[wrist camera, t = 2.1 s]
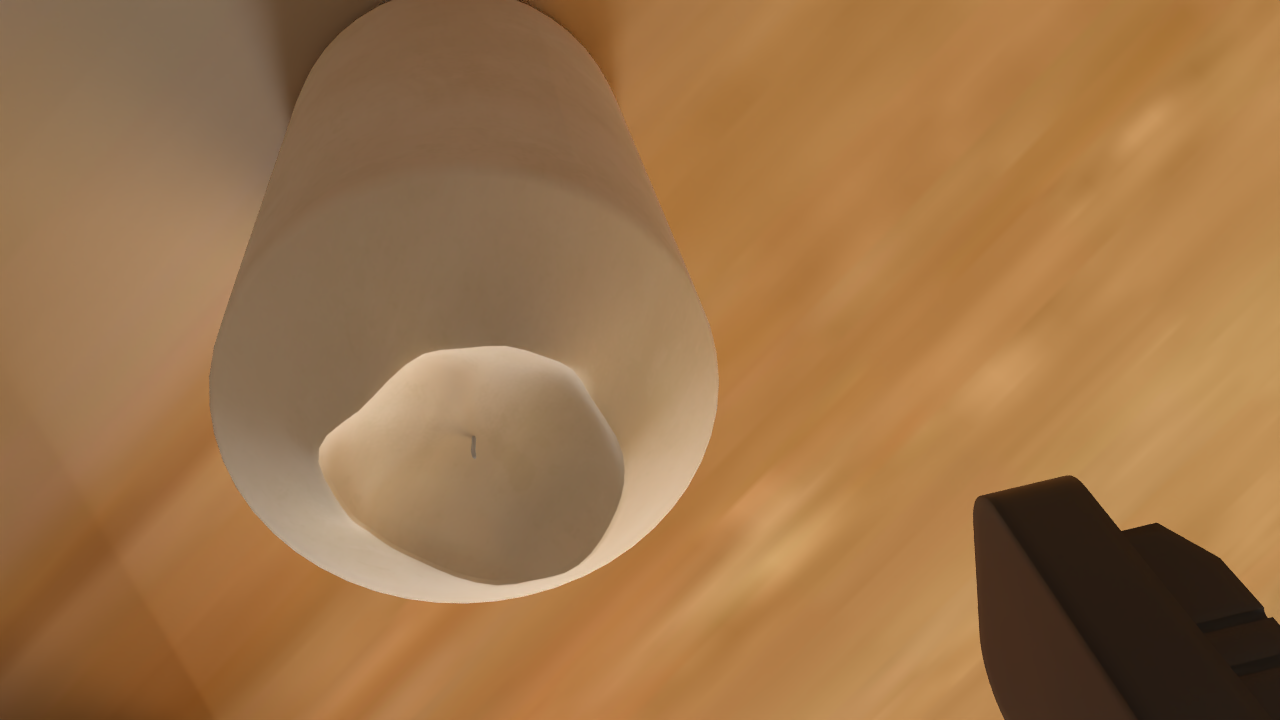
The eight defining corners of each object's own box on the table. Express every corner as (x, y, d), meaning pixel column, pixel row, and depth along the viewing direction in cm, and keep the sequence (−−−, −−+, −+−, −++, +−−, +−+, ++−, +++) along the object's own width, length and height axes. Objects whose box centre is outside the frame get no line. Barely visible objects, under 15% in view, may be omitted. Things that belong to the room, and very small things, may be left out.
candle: (245, 223, 21) (107, 610, 12) (368, -80, 19) (306, 128, 10) (537, 337, 23) (596, 743, 14) (677, 73, 21) (850, 357, 12)
